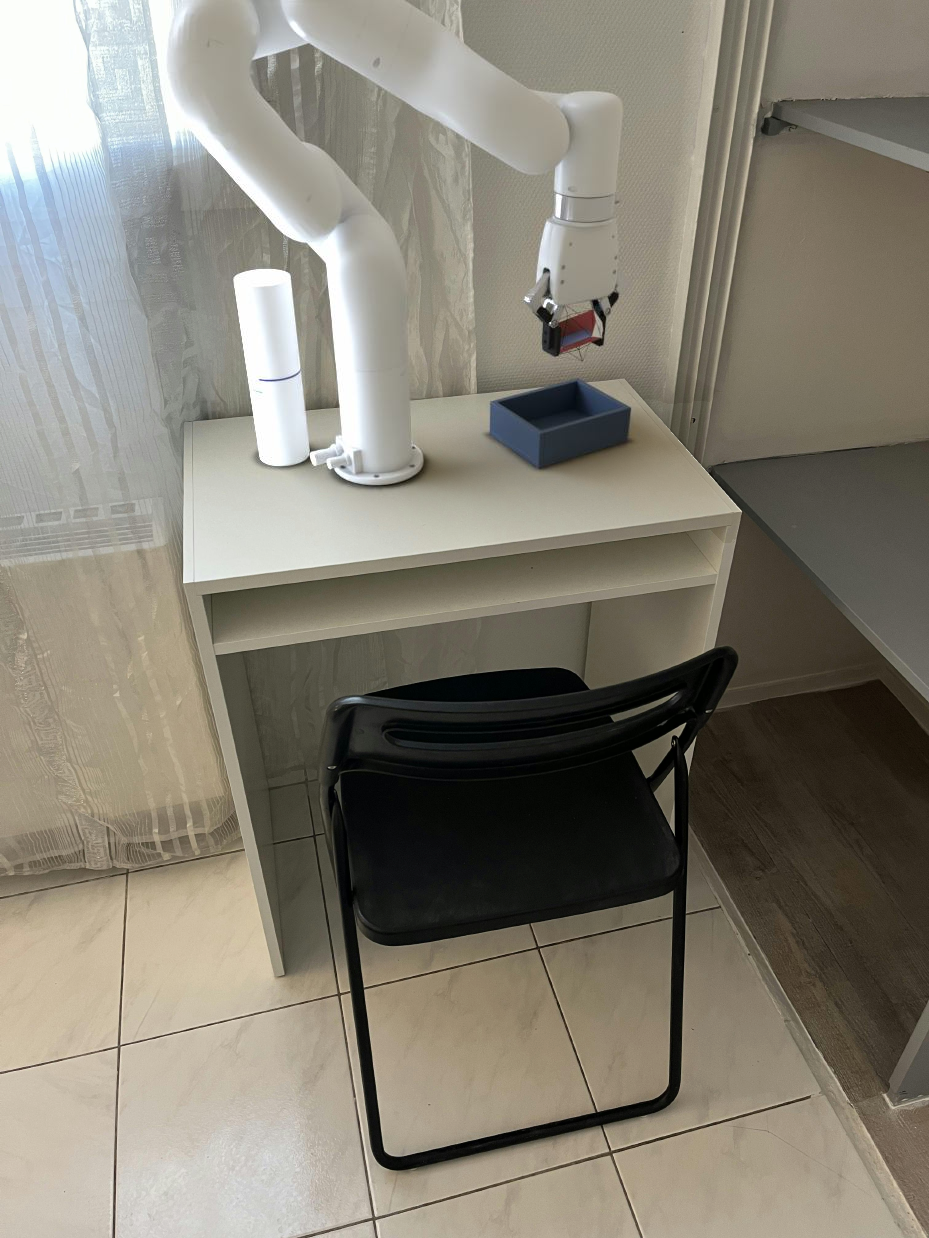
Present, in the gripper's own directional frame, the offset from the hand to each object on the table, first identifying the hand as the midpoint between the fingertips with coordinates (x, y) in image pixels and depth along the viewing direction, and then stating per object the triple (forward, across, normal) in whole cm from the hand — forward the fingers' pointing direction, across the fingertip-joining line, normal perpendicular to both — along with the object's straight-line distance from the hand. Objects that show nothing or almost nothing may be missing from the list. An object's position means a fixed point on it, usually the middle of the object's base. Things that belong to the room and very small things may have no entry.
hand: (572, 347), depth 126 cm
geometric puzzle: (+1, 0, 0) cm, 1 cm away
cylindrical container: (+16, +35, -20) cm, 43 cm away
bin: (+15, -2, -4) cm, 16 cm away
